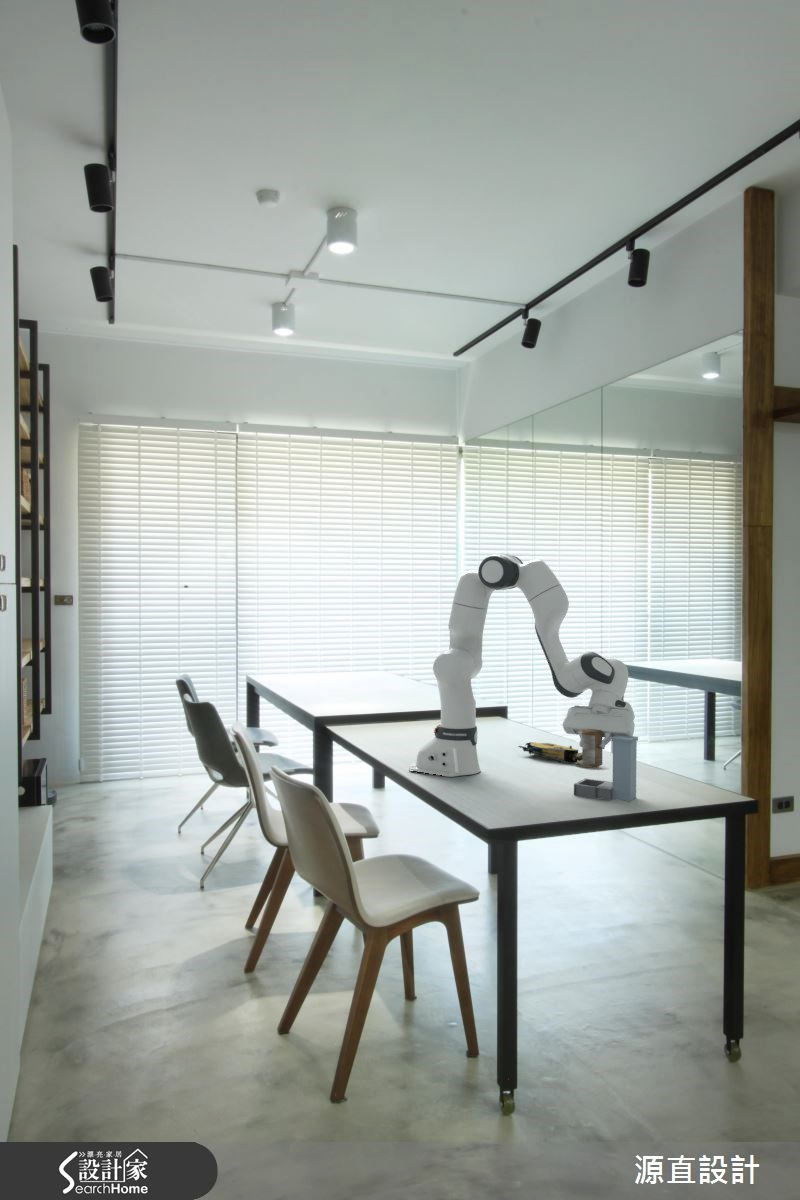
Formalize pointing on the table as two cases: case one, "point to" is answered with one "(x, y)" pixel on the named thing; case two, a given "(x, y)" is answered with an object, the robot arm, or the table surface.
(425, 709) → the table surface
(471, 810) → the table surface
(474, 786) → the table surface
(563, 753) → the pulley block
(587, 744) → the brown rectangular block
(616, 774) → the grey l-shaped post
